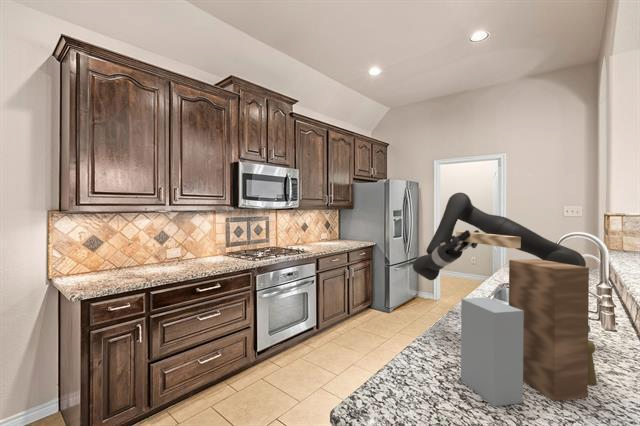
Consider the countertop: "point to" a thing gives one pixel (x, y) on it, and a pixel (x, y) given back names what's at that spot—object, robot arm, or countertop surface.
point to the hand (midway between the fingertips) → (473, 232)
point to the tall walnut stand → (553, 325)
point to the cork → (591, 364)
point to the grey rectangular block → (492, 350)
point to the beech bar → (493, 239)
